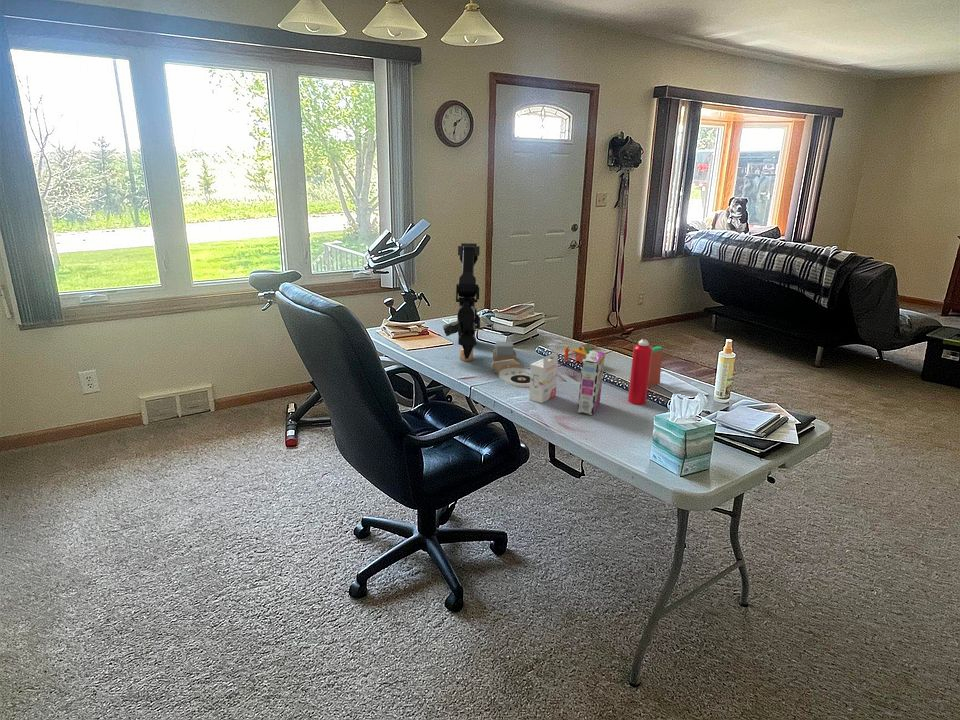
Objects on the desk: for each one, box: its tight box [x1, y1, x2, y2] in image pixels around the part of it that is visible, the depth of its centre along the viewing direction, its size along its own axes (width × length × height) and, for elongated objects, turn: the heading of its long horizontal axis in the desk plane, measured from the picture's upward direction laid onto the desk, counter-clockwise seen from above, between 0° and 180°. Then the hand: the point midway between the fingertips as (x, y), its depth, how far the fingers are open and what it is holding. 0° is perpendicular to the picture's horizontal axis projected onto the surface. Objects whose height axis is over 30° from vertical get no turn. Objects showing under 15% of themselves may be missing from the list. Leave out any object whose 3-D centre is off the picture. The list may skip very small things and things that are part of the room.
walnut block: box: [492, 349, 518, 362], centre depth 212 cm, size 8×8×4 cm
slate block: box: [494, 341, 514, 356], centre depth 211 cm, size 6×6×4 cm
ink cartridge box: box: [528, 351, 559, 404], centre depth 177 cm, size 9×5×15 cm, turn 143°
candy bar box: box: [577, 350, 606, 416], centre depth 170 cm, size 11×5×16 cm, turn 159°
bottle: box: [627, 338, 653, 406], centre depth 175 cm, size 5×6×20 cm
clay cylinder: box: [459, 346, 474, 362], centre depth 213 cm, size 5×5×4 cm
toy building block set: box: [563, 343, 663, 388], centre depth 201 cm, size 12×35×14 cm, turn 37°
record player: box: [490, 359, 530, 388], centre depth 196 cm, size 12×3×20 cm
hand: (466, 356), depth 213 cm, fingers closed on clay cylinder, 5 cm apart
